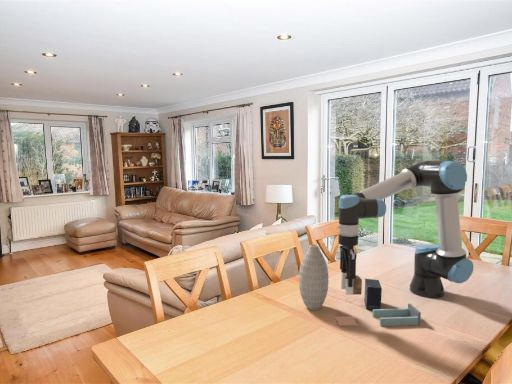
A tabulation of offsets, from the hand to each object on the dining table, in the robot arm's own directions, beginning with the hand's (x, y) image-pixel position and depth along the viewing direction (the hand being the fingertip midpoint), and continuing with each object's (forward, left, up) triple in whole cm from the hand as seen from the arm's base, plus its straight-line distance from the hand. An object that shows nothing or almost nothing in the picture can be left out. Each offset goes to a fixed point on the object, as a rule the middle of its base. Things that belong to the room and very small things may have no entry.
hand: (347, 291), depth 141 cm
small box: (-16, -15, -13) cm, 26 cm away
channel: (-20, 0, -13) cm, 24 cm away
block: (-3, 0, 0) cm, 3 cm away
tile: (0, 0, -13) cm, 13 cm away
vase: (+10, -15, -13) cm, 22 cm away
